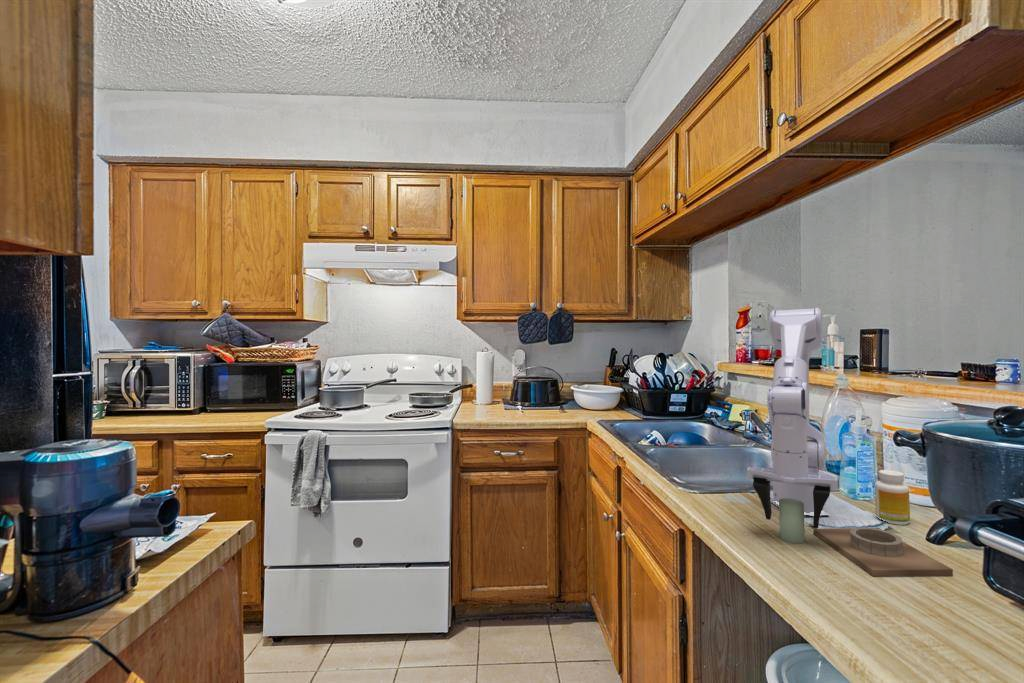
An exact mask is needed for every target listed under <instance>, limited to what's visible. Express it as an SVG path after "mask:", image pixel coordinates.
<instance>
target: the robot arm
mask: <svg viewBox="0 0 1024 683" xmlns="http://www.w3.org/2000/svg"><path fill="white" fill-rule="evenodd" d="M768 323H769V333H770V334H769V335H771V341H772V343H773V346H774V348H775V349H777V350H779V351H781V357H780V358H778V359H777V360H776V361H775V362H774V366H773V373H772V374H773V376H772V386H771V388H768V389H767V396H766V400H767V401H766V402H767V403H766V404H767V405H766V406H767V410H768V415H769V416H768V418H769V425H770V426H771V447H770V455H771V456H770V457H771V458H770V459H771V461H772V467H771V468H770V467H756V466H755V467H752V466H748V467H747V469H746V475H747V476H746V479H748V480H752V486H753V489H754V490H755V493H756V494H757V496H758V498H759V499H760V503H761V505H762V508H763V511H764V516H765V520H771V519H772V503H773V505H774V504H775V505H776V506H775V505H774V506H775V507H777V506H778V507H779V505H778V504H776V502H773V501H777V502H779V500H780V499H782V498H791V499H796V500H800V501H802V502H803V503H804V512H806V513H810V512H814V516H813V521H812V522H813V523H812V524H813V525H812V526H813V529H819V526H820V524H819V523H820V517H821V516H820V514H821V511H822V510H824V507H825V505H826V502H827V501H828V499H829V497H830V496H831V491H835V492H837V491H838V487H839V486H838V477H835V476H829V475H824V474H819V472H820V471H824V469H826V463H827V462H826V459H827V458H826V444H825V436H824V434H823V433H822V432H821V431H820V430H819V429H817V428H816V427H814V426H813V425H812V424H811V423H810V376H809V375H810V365H809V364H810V358H811V355H812V352H813V351H815V350H817V349H820V348H821V345H822V342H823V313H822V310H821V308H819V307H815V308H814V307H813V308H800V309H797V308H796V309H783V310H781V309H780V310H776V309H772V310H771V311H770V313H769V320H768ZM771 482H772V493H773V495H772V498H771ZM778 507H777V508H778Z"/></svg>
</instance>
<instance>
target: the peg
mask: <svg viewBox="0 0 1024 683" xmlns="http://www.w3.org/2000/svg"><path fill="white" fill-rule="evenodd" d="M778 510H779V513H778V514H779V515H778V516H779V537H780V539H781V540H782V541H784V542H787V543H790V544H805V542H806V538H805V537H806V533H805V532H806V530H805V516H804V503H803V502H802V501H800V500H796V499H791V498H782V499H780V500H779V508H778Z"/></svg>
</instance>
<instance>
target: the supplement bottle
mask: <svg viewBox="0 0 1024 683" xmlns="http://www.w3.org/2000/svg"><path fill="white" fill-rule="evenodd" d="M878 478H879V479H880V480H877V481H876V482H875V483H874V494H875V495H874V497H875V500H874V501H875V516H877V517H879V518H881V519H883V520H885V521H887V522H888V523H887V522H886V523H887V524H892V525H897V526H899V525H900V526H902V525H903V526H905V525H909V524H910V522H911V515H910V514H911V513H910V511H911V510H910V507H911V506H910V488H909V486H908V485H907V484H906V483H904V482H905V474H904V472H901V471H897V470H893V469H892V470H891V469H881V470H878ZM877 517H876V518H877Z"/></svg>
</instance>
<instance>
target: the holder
mask: <svg viewBox="0 0 1024 683" xmlns="http://www.w3.org/2000/svg"><path fill="white" fill-rule="evenodd" d="M812 534H813V535H815V537H818V538H819V539H820V540H821V541H823V542H824V543H826V544H827V545H828V546H830V547H831V548H832V549H834V550H835V551H837V552H838V553H839V554H841V555H843V557H845V558H847V559H848V560H850V561H851V562H853V564H856V566H858V567H859V568H860V569H862V570H863V571H865V572H866V573H868V574H869V575H870V576H872V577H878V578H879V577H953V576H954V572H953V571H954V569H953V568H951V567H949V566H947V565H946V564H944V563H942V562H940V561H939V560H937V559H935V558H933V557H931V556H930V555H928V554H926V553H924V552H922V551H921V550H919V549H918V548H916V547H914V546H912V545H910V544H908V543H907V542H904V541H903V540H902V537H901V536H899V535H897V534H895V533H893V532H891V531H888V530H884V529H881V528H880V527H867V526H861V527H860V526H858V527H847V528H845V527H840V528H833V527H832V528H830V527H829V528H827V527H826V528H813V533H812Z"/></svg>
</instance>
